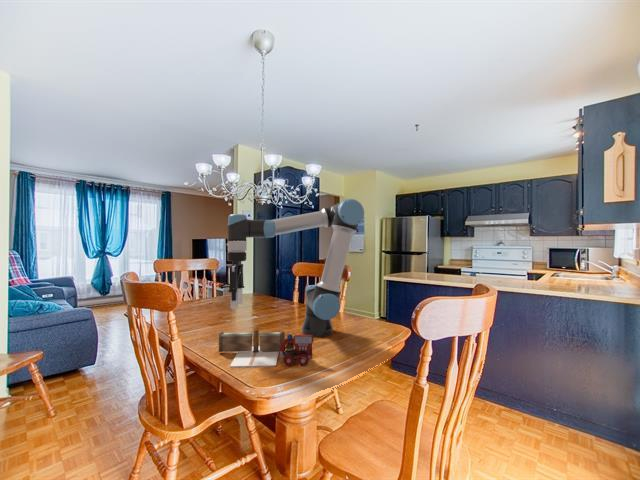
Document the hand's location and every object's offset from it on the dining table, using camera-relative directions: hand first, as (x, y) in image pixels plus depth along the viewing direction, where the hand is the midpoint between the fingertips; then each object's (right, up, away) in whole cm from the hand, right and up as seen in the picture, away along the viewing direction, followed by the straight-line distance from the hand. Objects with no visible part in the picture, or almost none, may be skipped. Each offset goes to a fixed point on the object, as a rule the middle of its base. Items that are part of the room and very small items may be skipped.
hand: (236, 305), depth 120 cm
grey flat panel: (+1, -16, -6) cm, 18 cm away
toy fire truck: (+26, -18, -14) cm, 35 cm away
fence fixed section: (+14, -17, -5) cm, 23 cm away
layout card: (+11, -17, -9) cm, 22 cm away
